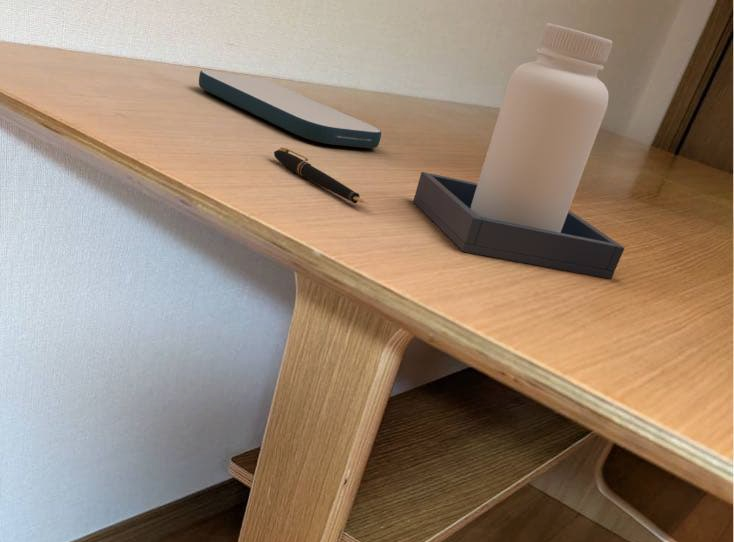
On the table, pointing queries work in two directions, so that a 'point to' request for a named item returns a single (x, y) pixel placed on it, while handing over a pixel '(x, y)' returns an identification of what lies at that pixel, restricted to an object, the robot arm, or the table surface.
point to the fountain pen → (315, 174)
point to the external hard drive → (290, 110)
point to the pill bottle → (545, 132)
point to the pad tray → (515, 232)
